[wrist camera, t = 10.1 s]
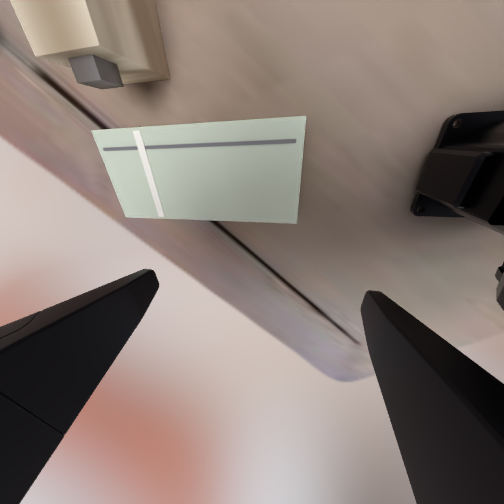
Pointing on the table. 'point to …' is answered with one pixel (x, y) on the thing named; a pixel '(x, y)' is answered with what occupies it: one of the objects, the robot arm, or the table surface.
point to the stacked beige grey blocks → (97, 39)
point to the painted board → (208, 169)
